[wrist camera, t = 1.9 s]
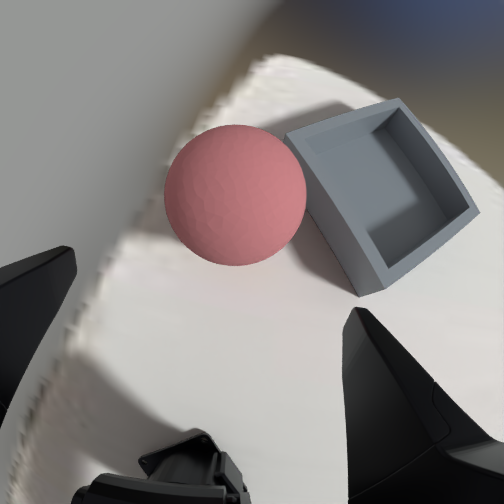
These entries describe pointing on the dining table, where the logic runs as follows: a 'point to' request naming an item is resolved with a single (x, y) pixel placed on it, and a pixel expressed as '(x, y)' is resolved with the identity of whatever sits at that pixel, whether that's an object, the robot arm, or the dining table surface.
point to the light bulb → (235, 195)
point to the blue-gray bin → (379, 191)
